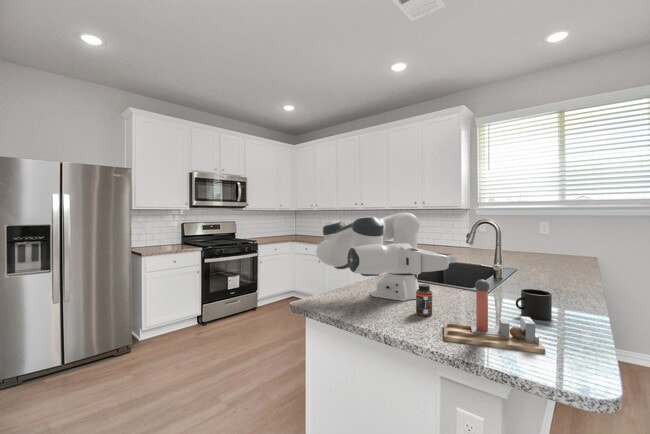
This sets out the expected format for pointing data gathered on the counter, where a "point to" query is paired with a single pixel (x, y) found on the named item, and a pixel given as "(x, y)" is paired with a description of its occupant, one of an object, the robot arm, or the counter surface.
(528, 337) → the block
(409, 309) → the counter surface
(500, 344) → the wooden base board
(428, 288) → the supplement bottle
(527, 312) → the mug
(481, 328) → the lever
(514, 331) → the walnut
